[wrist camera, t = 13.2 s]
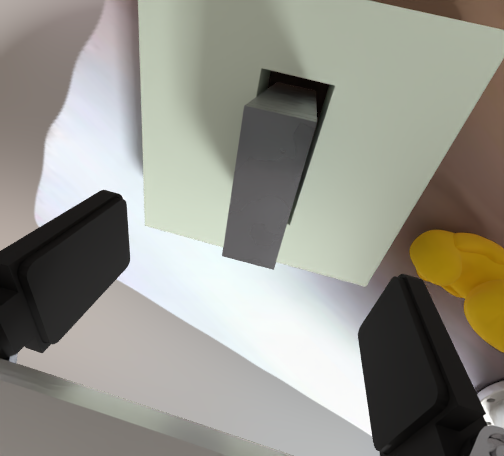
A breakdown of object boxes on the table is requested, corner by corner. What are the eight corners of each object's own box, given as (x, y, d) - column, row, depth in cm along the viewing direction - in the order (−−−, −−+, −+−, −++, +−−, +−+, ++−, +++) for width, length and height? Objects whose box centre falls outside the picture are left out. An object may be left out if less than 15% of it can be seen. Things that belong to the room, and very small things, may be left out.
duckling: (536, 257, 24) (650, 361, 16) (484, 294, 27) (557, 397, 19) (427, 201, 24) (488, 280, 15) (385, 244, 27) (418, 330, 18)
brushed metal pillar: (315, 90, 21) (317, 122, 11) (289, 185, 25) (273, 269, 15) (277, 81, 21) (244, 105, 11) (258, 177, 26) (222, 255, 16)
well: (470, 38, 18) (518, 33, 14) (358, 252, 28) (365, 286, 23) (175, -28, 19) (136, -51, 15) (169, 201, 29) (144, 225, 25)
